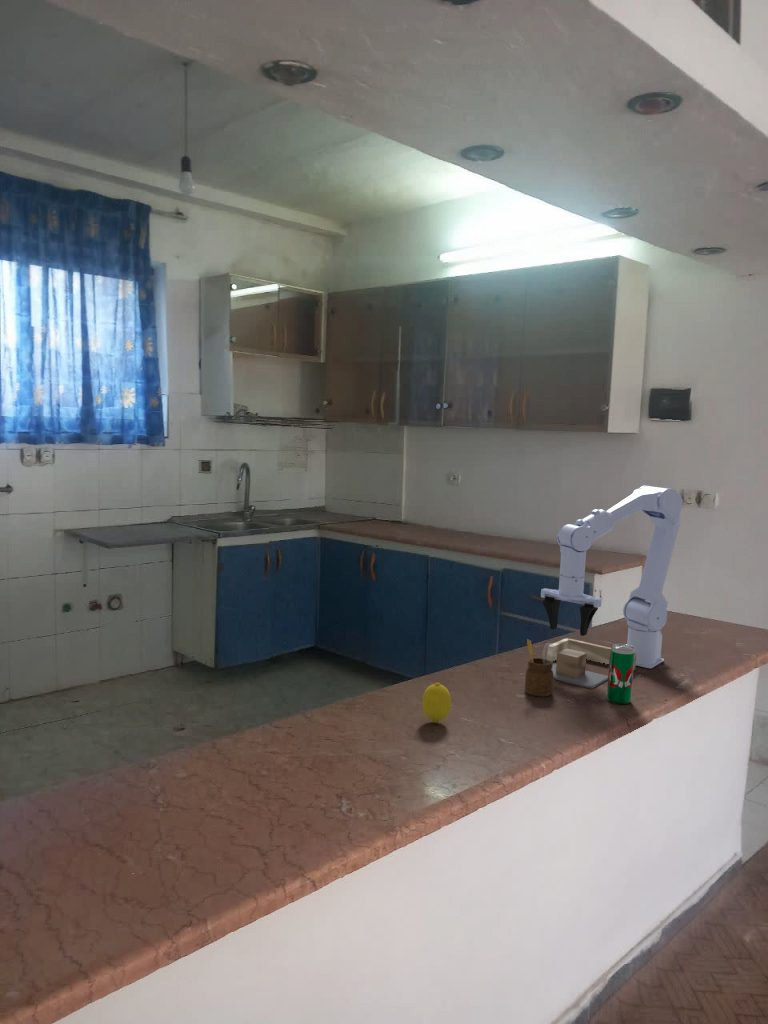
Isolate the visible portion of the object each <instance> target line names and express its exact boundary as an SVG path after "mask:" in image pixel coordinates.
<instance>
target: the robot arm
mask: <svg viewBox="0 0 768 1024" xmlns="http://www.w3.org/2000/svg"><path fill="white" fill-rule="evenodd" d="M683 503H684V500H683V499H682V496H681V495H680V493H679V492H678V490H676V489H674V488H671V487H668V488H667V487H659V486H652V485H648V484H644V485H642V486H640V487H639V488H636V489H634V490H633V492H632V494H629V496H627V497H624V499H622V500H621V501H620V502H617V504H614V505H613V506H612V507H609V508H608V509H607V510H605V509H601V508H600V509H596V508H595V509H593V510H591V513H590V514H589V515H587V516H585V517H583V518H581V519H580V518H579V519H576V522H575V523H574V524H573V523H572V524H571V523H567V524H565V525H563V527H562V528H560V530H559V532H558V534H557V535H556V541H557V544H558V545H559V552H560V564H559V565H560V566H559V579H558V581H559V582H558V589H552V588H545V587H544V588H542V589H541V590H540V598H543V600H542V605H543V606H544V609H545V611H546V614H547V618H548V621H549V627H550V630H556V629H557V628H558V619H559V617H558V616H559V610H560V605H561V601H562V602H569V603H574V604H577V605H578V604H579V605H582V606H580V607H579V612H580V627H579V633H580V634H579V635H580V636H581V637H584V636H587V634H588V631H589V627H590V625H591V623H592V620H593V617H595V616H594V615H595V614H596V613H597V611H598V609H599V608H601V607H602V600H603V598H601V597H597V596H593V595H590V594H585V593H584V591H585V590H584V588H585V575H586V573H585V572H586V563H587V562H586V561H587V560H586V559H587V551H588V550H589V549H590V548H591V546H592V545H593V542H594V541H596V540H598V539H599V538H601V537H603V536H604V535H606V534H608V533H609V532H612V531H613V529H614V526H615V523H617V522H619V521H621V520H623V519H625V518H627V517H630V516H632V515H633V514H635V513H637V512H640V511H642V512H643V513H644V514H645V515H646V516H647V517H649V518H650V520H651V522H652V524H653V525H654V529H653V533H652V536H651V541H650V545H649V548H648V552H647V555H646V559H645V564H644V567H643V571H642V575H641V579H640V583H639V586H638V587H636V588H635V589H633V590H632V591H630V592H629V593H630V594H629V596H628V599H627V600H626V602H625V603H624V605H623V608H622V614H623V617H624V618H625V620H626V624H627V626H628V632H627V642H626V644H627V645H630V646H633V648H634V649H633V650H634V652H635V653H636V666H638V667H640V668H641V667H642V668H646V669H650V670H651V669H653V668H655V667H657V665H660V664H662V663H663V662H664V661H665V658H663V657H661V656H662V644H663V633H662V628H664V626H665V625H666V623H667V620H668V611H667V610H668V605H669V603H668V600H667V599H666V597H665V596H664V594H663V590H664V586H665V582H666V579H667V574H668V571H669V568H670V567H669V566H670V563H671V559H672V555H673V552H674V548H675V544H676V541H677V538H678V533H679V529H680V526H681V515H680V514H681V511H682V507H683Z"/></svg>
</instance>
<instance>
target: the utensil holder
mask: <svg viewBox="0 0 768 1024" xmlns="http://www.w3.org/2000/svg"><path fill="white" fill-rule="evenodd" d="M526 643H527V650H528V653H529V655H530V658H529V660H528V661H527V666H528V667H527V668H526V670H525V678H524V679H525V683H524V691H525V692H526V694H528V695H530V696H534V697H539V698H540V697H542V698H543V697H544V698H545V697H549V696H551V695H552V694H553V685H554V679H553V671H552V662H551V661H550V660H547V659H548V658H547V654H546V655H545V652H546V651H547V652H548V650H547V649H548V648H549V647H548V646H549V645H553V643H551V642H550V643H545V645H544V646H545V647H543V650H544V651H542V657H540V658H539V657H534V656H533V655H534V650H533V646H532V645H533V644H532V640H530V639H528V638H527V639H526ZM550 647H551V646H550ZM553 647H554V645H553ZM546 648H547V649H546ZM553 649H554V648H553ZM547 652H546V653H547ZM551 653H552V652H551ZM552 654H554V653H552ZM545 656H546V657H545ZM551 657H553V656H551ZM550 659H552V658H550Z"/></svg>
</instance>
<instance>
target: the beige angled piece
mask: <svg viewBox="0 0 768 1024" xmlns="http://www.w3.org/2000/svg"><path fill="white" fill-rule="evenodd" d="M552 644H553V645H554V647H553V645H551V644H550V645H549V644H548V645H547V651H548V652H546V655H547V656H546V659H547V658H548V659H547V660H550V661H551V662H553V661H554V662H555V660H556V661H557V653H558V652H560V651H562V650H565V649H571V650H576V651H580V652H584V653H587V655H586V659H587V660H586V661H590V660H591V661H592V662H595V663H599V662H600V663H599V664H603V663H605V664H604V665H607V664H609V659H610V649H611V648H612V647H608V646H604V645H601V644H595V643H591V642H587V641H586V642H585V641H582V640H577V639H573V638H568V637H565V638H563V639H561V640H558V641H556V642H553V643H552ZM550 646H551V647H550ZM548 647H549V648H548ZM553 648H554V649H553ZM551 652H552V653H554V654H552V653H551ZM551 656H553V657H551ZM550 658H552V659H550ZM554 662H553V663H554ZM636 666H637V665H636V653H635V660H634V671H635V670H636V668H637V667H636Z"/></svg>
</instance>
